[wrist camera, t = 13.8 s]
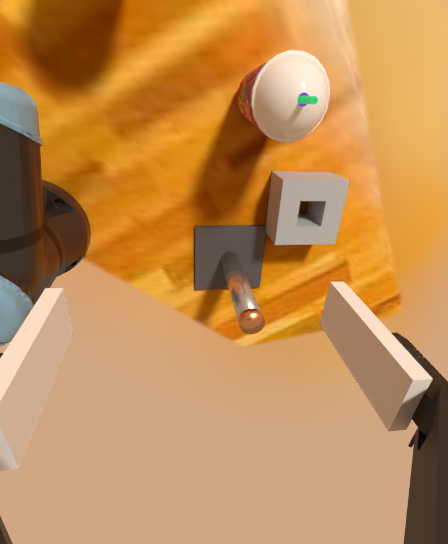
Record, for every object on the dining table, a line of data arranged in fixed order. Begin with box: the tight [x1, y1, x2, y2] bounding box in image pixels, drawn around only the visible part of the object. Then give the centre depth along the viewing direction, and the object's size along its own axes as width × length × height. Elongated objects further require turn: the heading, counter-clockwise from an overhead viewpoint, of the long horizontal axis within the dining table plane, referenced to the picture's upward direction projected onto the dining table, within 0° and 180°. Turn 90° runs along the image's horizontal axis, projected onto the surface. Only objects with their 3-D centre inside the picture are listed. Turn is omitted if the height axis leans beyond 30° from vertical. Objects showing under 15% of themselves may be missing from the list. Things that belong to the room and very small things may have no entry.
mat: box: [195, 225, 267, 290], centre depth 56 cm, size 12×12×1 cm
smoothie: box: [237, 50, 330, 143], centre depth 36 cm, size 8×8×20 cm
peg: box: [220, 252, 265, 334], centre depth 48 cm, size 3×3×18 cm
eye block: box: [266, 171, 350, 245], centre depth 51 cm, size 10×10×6 cm
